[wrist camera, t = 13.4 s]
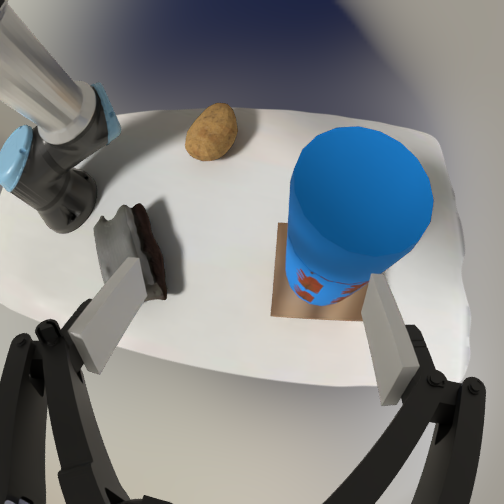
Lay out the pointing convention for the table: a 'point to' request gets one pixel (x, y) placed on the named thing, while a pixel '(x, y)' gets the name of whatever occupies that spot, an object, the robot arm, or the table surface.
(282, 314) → the small wooden stool
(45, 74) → the robot arm
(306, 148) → the thermos
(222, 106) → the potato
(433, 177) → the table surface
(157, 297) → the rock
